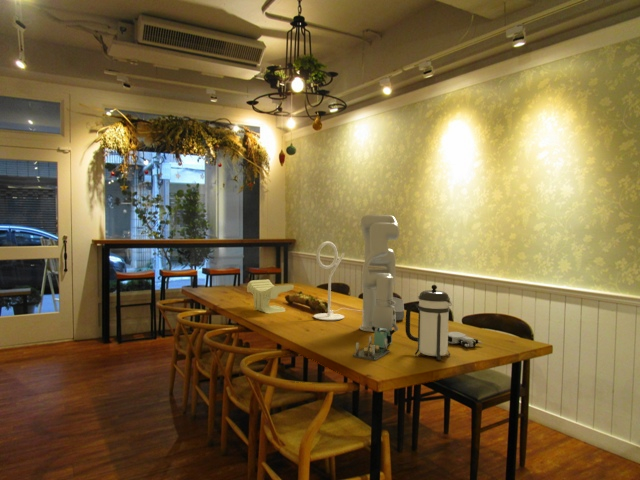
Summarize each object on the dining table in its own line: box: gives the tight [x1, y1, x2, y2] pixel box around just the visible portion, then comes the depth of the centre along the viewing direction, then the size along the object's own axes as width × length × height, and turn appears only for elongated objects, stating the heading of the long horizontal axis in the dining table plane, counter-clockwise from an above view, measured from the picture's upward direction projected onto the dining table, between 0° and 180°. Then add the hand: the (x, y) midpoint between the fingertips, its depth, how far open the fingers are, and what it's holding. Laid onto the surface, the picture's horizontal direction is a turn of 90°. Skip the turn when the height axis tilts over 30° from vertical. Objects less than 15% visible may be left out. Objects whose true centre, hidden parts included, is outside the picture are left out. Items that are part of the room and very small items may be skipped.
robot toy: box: [448, 331, 483, 348], centre depth 204 cm, size 12×4×15 cm
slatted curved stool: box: [246, 279, 295, 314], centre depth 277 cm, size 30×16×18 cm, turn 37°
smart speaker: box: [393, 296, 405, 322], centre depth 256 cm, size 10×9×14 cm
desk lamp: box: [313, 240, 362, 322], centre depth 264 cm, size 37×18×45 cm, turn 130°
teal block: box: [373, 328, 393, 349], centre depth 200 cm, size 10×4×6 cm, turn 149°
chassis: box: [352, 335, 390, 362], centre depth 186 cm, size 15×10×6 cm, turn 149°
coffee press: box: [405, 284, 453, 362], centre depth 185 cm, size 17×16×30 cm
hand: (383, 342), depth 200 cm, fingers closed on teal block, 4 cm apart
